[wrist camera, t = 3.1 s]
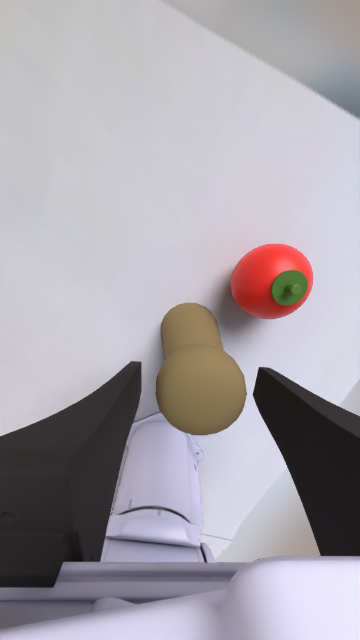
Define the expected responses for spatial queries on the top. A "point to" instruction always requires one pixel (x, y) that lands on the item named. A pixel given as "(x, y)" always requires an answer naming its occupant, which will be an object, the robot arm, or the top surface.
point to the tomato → (272, 281)
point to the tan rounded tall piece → (197, 374)
